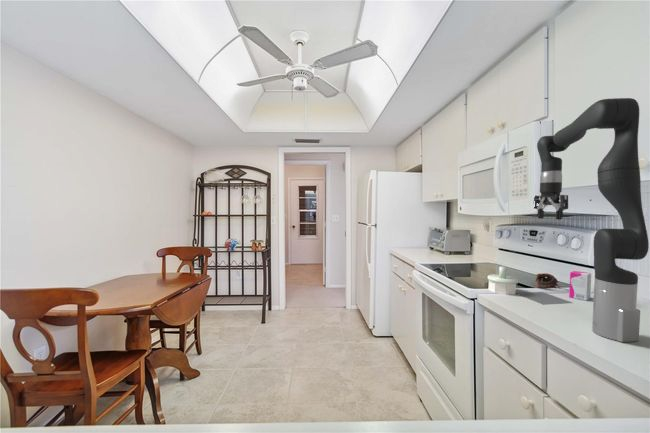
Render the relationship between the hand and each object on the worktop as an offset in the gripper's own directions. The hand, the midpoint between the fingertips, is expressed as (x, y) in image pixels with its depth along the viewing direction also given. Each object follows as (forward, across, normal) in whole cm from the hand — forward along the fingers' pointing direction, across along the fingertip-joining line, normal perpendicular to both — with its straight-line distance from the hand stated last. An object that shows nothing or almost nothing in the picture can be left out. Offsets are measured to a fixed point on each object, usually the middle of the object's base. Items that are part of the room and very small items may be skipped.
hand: (549, 218), depth 123 cm
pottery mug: (+34, +10, -10) cm, 37 cm away
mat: (+34, -4, +6) cm, 35 cm away
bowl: (+34, +7, +16) cm, 38 cm away
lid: (+29, +7, +16) cm, 34 cm away
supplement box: (+34, -6, -10) cm, 36 cm away
